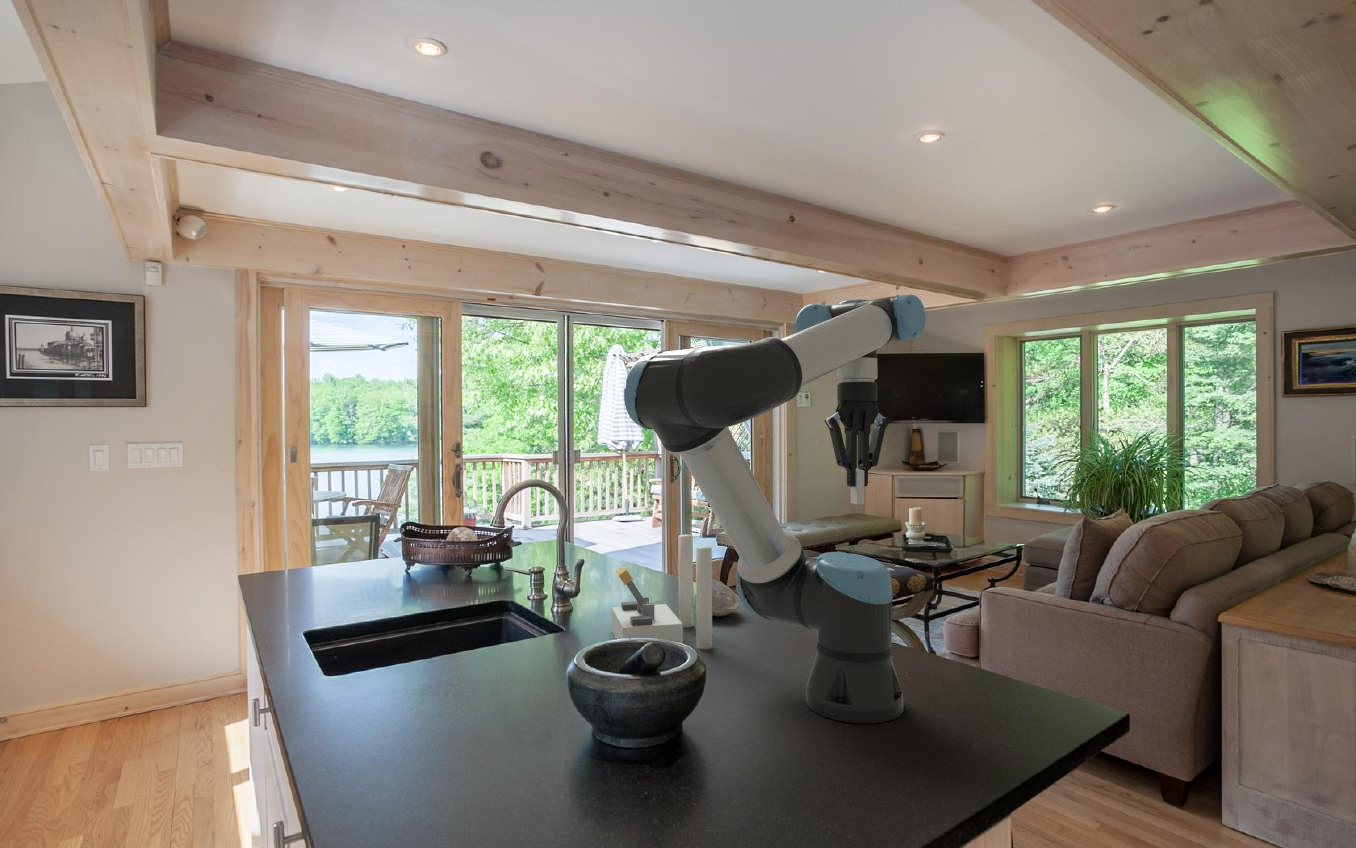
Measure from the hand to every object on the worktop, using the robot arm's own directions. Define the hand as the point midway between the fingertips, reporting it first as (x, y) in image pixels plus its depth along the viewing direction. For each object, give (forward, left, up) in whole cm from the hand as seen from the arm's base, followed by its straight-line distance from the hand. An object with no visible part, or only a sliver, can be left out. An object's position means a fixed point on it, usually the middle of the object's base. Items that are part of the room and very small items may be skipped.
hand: (857, 503), depth 139 cm
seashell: (+35, +18, -30) cm, 49 cm away
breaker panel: (+20, +38, -29) cm, 52 cm away
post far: (+28, +27, -29) cm, 49 cm away
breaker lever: (+20, +38, -23) cm, 49 cm away
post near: (+12, +27, -29) cm, 42 cm away
